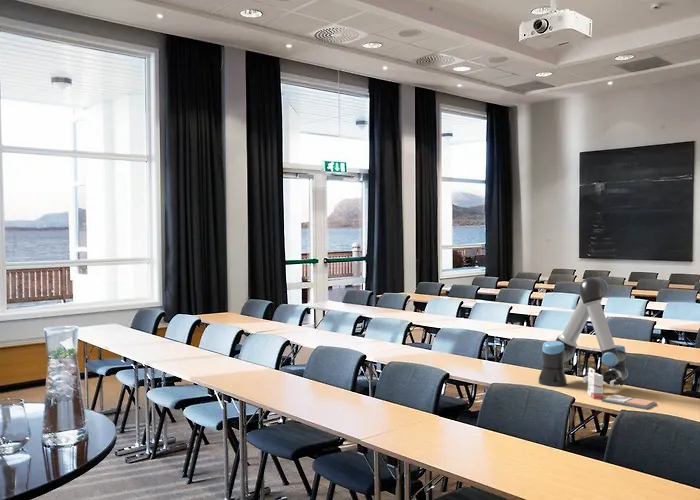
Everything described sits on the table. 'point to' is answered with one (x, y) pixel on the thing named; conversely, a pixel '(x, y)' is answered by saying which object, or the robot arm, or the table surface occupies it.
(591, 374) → the ink cartridge box
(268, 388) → the table surface
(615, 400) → the tile board
